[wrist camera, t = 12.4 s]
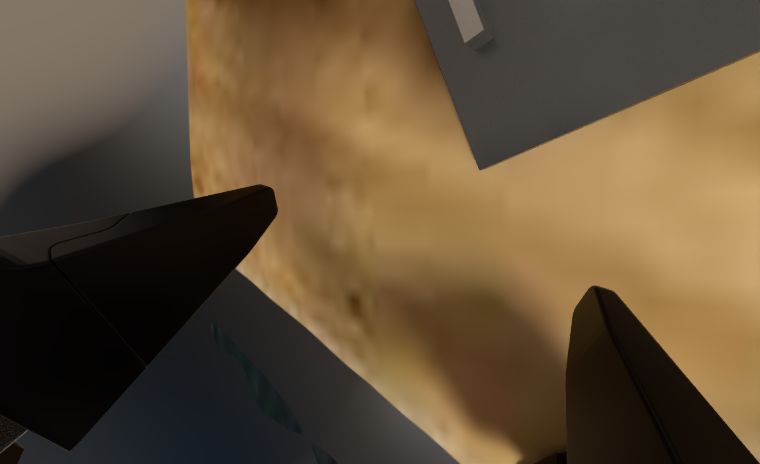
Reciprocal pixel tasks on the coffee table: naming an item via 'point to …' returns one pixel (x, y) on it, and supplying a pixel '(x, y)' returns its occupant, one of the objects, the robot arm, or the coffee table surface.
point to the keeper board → (574, 60)
